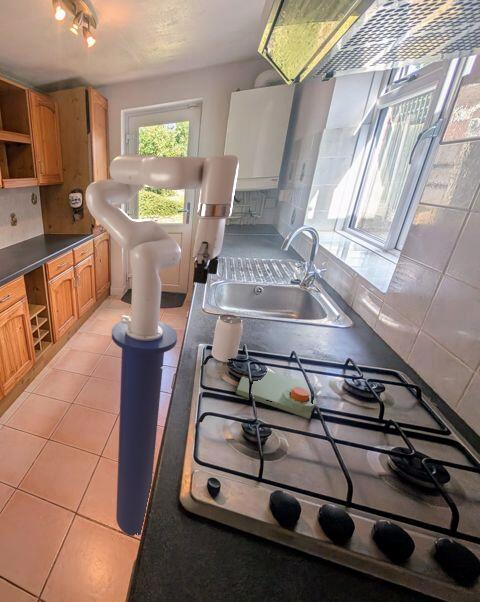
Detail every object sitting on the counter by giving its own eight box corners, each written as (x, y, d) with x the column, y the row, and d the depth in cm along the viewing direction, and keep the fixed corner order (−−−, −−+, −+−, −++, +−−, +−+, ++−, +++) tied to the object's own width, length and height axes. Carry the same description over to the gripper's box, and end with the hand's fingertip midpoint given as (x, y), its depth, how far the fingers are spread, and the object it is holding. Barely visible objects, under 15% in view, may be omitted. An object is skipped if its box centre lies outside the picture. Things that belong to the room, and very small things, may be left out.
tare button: (290, 398, 64) (292, 392, 64) (291, 391, 67) (292, 384, 66) (307, 404, 63) (309, 397, 62) (307, 396, 65) (309, 390, 64)
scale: (235, 395, 70) (237, 384, 69) (245, 369, 79) (247, 359, 78) (312, 421, 62) (316, 409, 61) (313, 389, 71) (316, 378, 70)
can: (240, 356, 85) (247, 318, 80) (230, 366, 80) (238, 326, 76) (217, 348, 89) (223, 311, 84) (207, 357, 85) (213, 318, 80)
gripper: (208, 207, 82) (200, 268, 88) (187, 214, 69) (180, 284, 76) (238, 208, 78) (227, 272, 84) (222, 215, 65) (211, 289, 71)
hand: (205, 277), depth 80 cm, fingers open, 9 cm apart
